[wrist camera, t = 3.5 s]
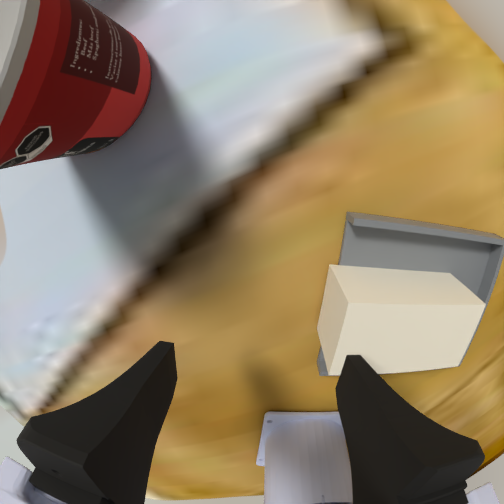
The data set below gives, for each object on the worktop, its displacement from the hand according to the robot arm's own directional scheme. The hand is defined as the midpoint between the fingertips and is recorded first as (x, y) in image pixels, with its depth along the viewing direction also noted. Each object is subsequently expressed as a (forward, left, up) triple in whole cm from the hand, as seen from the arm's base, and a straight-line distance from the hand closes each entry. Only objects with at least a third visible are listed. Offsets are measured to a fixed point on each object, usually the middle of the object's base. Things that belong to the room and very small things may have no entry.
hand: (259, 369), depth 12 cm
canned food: (+12, +11, -7) cm, 18 cm away
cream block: (0, -4, -4) cm, 6 cm away
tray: (0, -10, -7) cm, 13 cm away
